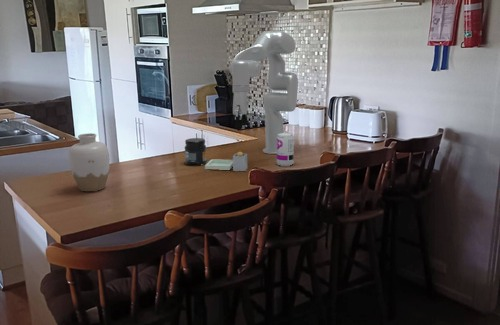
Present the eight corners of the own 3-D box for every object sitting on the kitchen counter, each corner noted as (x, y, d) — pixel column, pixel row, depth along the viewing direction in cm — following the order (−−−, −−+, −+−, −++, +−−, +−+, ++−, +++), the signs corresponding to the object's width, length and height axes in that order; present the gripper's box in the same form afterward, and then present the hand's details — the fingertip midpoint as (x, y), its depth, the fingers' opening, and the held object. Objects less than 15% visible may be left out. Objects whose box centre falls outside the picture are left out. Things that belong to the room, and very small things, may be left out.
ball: (237, 157, 227) (237, 150, 226) (243, 157, 226) (243, 151, 225) (236, 158, 224) (236, 152, 223) (242, 158, 223) (242, 152, 222)
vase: (98, 181, 213) (93, 130, 208) (119, 187, 203) (115, 133, 198) (64, 190, 201) (58, 136, 196) (86, 197, 192) (80, 140, 186)
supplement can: (280, 167, 230) (280, 136, 227) (274, 163, 238) (274, 133, 234) (296, 165, 232) (296, 135, 229) (290, 161, 240) (290, 132, 236)
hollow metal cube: (235, 168, 230) (235, 153, 228) (247, 169, 229) (247, 153, 227) (233, 171, 224) (232, 156, 222) (245, 172, 223) (244, 156, 221)
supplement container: (209, 161, 244) (208, 138, 241) (202, 166, 234) (201, 142, 231) (190, 160, 247) (189, 137, 244) (182, 165, 237) (180, 141, 234)
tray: (211, 163, 239) (211, 159, 238) (235, 164, 237) (235, 159, 236) (205, 170, 228) (204, 165, 227) (230, 171, 225) (229, 166, 225)
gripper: (237, 87, 227) (238, 124, 231) (227, 90, 211) (228, 129, 214) (253, 87, 225) (253, 124, 229) (244, 90, 209) (244, 130, 213)
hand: (241, 126), depth 222 cm, fingers open, 9 cm apart
